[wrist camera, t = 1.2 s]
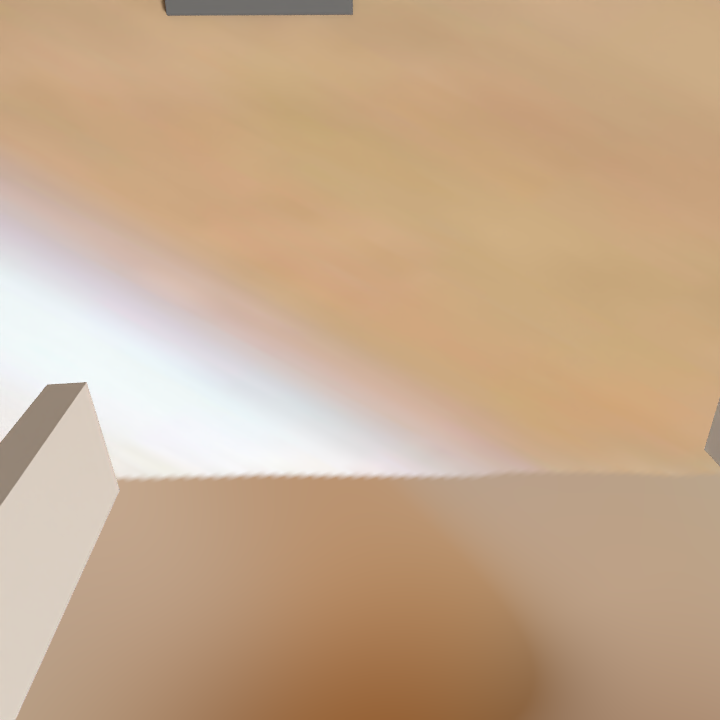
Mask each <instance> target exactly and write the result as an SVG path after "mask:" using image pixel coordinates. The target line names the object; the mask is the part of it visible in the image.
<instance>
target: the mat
mask: <svg viewBox="0 0 720 720" xmlns="http://www.w3.org/2000/svg"><path fill="white" fill-rule="evenodd" d="M165 5H166V13H167V15H168V16H176V15H353V0H165Z"/></svg>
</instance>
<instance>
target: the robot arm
mask: <svg viewBox="0 0 720 720" xmlns="http://www.w3.org/2000/svg"><path fill="white" fill-rule="evenodd" d="M704 450H705V451H706V452H707V453H708V454H709V455H710V456H711V457H712V458H713V459H714V461H715V462H716V463H717V464H718V465H719V466H720V399H719V402H718V406H717V409H716V412H715V416H714V419H713V422H712V426H711V429H710V432H709V436H708V439H707V442H706V446H705V449H704ZM119 490H120V489H119V486H118V483H117V480H116V476H115V473H114V470H113V467H112V463H111V460H110V457H109V454H108V450H107V447H106V444H105V441H104V437H103V434H102V431H101V428H100V424H99V421H98V418H97V415H96V411H95V408H94V405H93V402H92V398H91V395H90V392H89V389H88V385H87V382H83V383H67V384H51V385H47V386H46V387H45V388H44V389H43V391H42V392H41V393H40V394H39V396H38V397H37V398H36V399H35V401H34V402H33V403H32V404H31V405H30V407H29V408H28V409H27V410H26V412H25V413H24V414H23V415H22V417H21V418H20V419H19V420H18V422H17V423H16V424H15V425H14V427H13V428H12V429H11V430H10V432H9V433H8V434H7V435H6V436H5V438H4V439H3V440H2V441H1V443H0V720H16V717H17V715H18V713H19V711H20V709H21V706H22V704H23V702H24V700H25V698H26V695H27V693H28V691H29V689H30V686H31V684H32V682H33V680H34V678H35V675H36V673H37V671H38V669H39V667H40V664H41V662H42V660H43V658H44V656H45V653H46V651H47V649H48V647H49V644H50V642H51V640H52V638H53V636H54V633H55V631H56V629H57V627H58V625H59V623H60V620H61V618H62V616H63V614H64V612H65V609H66V607H67V605H68V603H69V600H70V598H71V596H72V594H73V592H74V589H75V587H76V585H77V583H78V581H79V579H80V576H81V574H82V572H83V570H84V567H85V565H86V563H87V561H88V559H89V556H90V554H91V552H92V550H93V548H94V545H95V543H96V541H97V539H98V537H99V534H100V532H101V530H102V528H103V525H104V523H105V521H106V519H107V517H108V515H109V512H110V510H111V508H112V506H113V503H114V501H115V499H116V497H117V495H118V492H119Z"/></svg>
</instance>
